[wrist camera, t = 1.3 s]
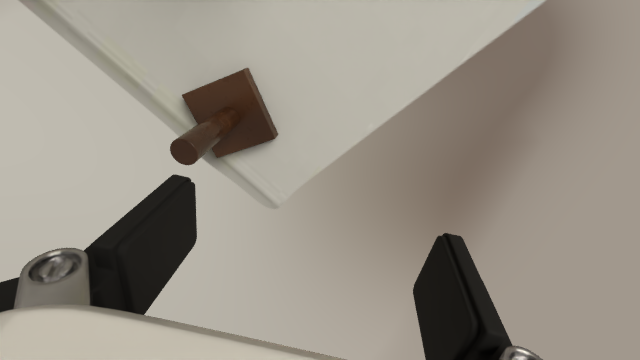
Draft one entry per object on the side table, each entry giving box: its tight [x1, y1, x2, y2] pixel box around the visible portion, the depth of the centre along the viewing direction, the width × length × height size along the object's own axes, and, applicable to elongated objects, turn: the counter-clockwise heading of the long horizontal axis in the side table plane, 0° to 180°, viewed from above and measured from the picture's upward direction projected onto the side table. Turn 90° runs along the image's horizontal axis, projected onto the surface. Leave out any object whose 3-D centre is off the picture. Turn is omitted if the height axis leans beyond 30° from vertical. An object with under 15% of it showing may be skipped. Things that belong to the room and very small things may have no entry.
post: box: [170, 68, 278, 165], centre depth 30 cm, size 8×8×12 cm
